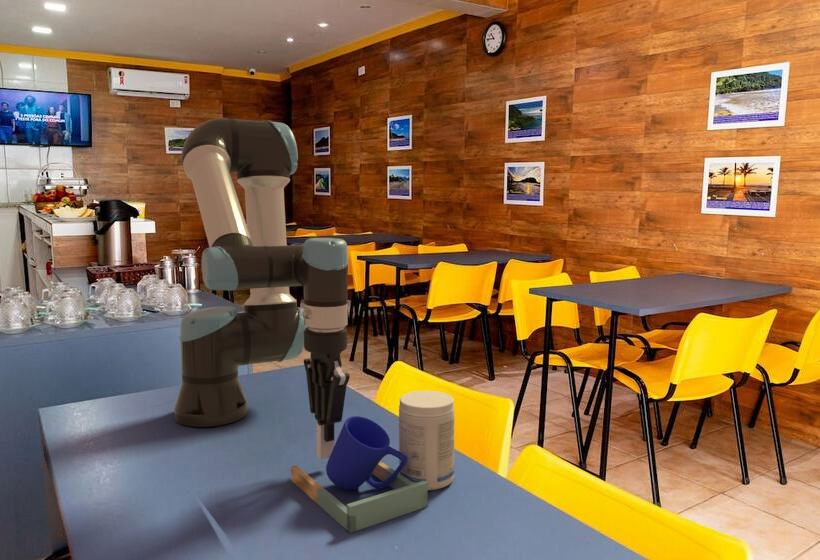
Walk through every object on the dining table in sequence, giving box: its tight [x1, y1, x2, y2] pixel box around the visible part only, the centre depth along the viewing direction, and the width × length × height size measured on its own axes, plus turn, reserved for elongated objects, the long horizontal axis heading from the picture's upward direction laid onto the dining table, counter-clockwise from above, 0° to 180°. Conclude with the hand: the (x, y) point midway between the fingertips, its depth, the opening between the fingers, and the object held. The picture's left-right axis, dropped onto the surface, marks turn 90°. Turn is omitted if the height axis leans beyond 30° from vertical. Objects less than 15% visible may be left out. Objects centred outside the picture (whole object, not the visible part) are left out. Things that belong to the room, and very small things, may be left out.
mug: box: [325, 415, 408, 491], centre depth 104 cm, size 8×12×10 cm
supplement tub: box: [398, 390, 455, 491], centre depth 107 cm, size 10×10×15 cm
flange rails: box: [290, 460, 391, 504], centre depth 107 cm, size 10×14×2 cm
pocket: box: [316, 467, 429, 534], centre depth 99 cm, size 10×14×4 cm
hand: (325, 455), depth 112 cm, fingers closed
